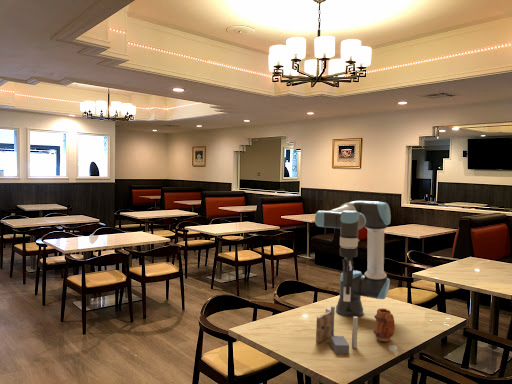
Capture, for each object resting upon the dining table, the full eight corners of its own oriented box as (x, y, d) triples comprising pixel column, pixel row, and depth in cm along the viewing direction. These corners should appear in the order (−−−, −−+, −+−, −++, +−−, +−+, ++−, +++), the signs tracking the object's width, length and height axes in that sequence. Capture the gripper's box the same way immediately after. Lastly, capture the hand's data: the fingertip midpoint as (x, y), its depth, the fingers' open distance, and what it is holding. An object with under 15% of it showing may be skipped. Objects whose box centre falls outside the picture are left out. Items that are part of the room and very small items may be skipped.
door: (329, 335, 201) (329, 310, 200) (333, 336, 199) (334, 312, 198) (315, 342, 192) (316, 317, 191) (320, 344, 190) (321, 318, 189)
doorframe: (324, 332, 205) (325, 304, 204) (327, 331, 206) (328, 304, 205) (353, 348, 188) (355, 317, 187) (356, 347, 189) (358, 317, 188)
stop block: (330, 344, 192) (330, 336, 191) (343, 344, 192) (343, 336, 192) (335, 354, 182) (335, 345, 182) (348, 354, 182) (349, 345, 182)
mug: (370, 335, 202) (372, 305, 201) (387, 335, 203) (388, 305, 202) (382, 349, 188) (384, 316, 187) (399, 348, 188) (401, 316, 187)
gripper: (360, 250, 170) (358, 306, 171) (354, 244, 183) (352, 296, 184) (342, 249, 170) (340, 305, 172) (337, 243, 183) (335, 295, 185)
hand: (346, 300), depth 178 cm, fingers closed
